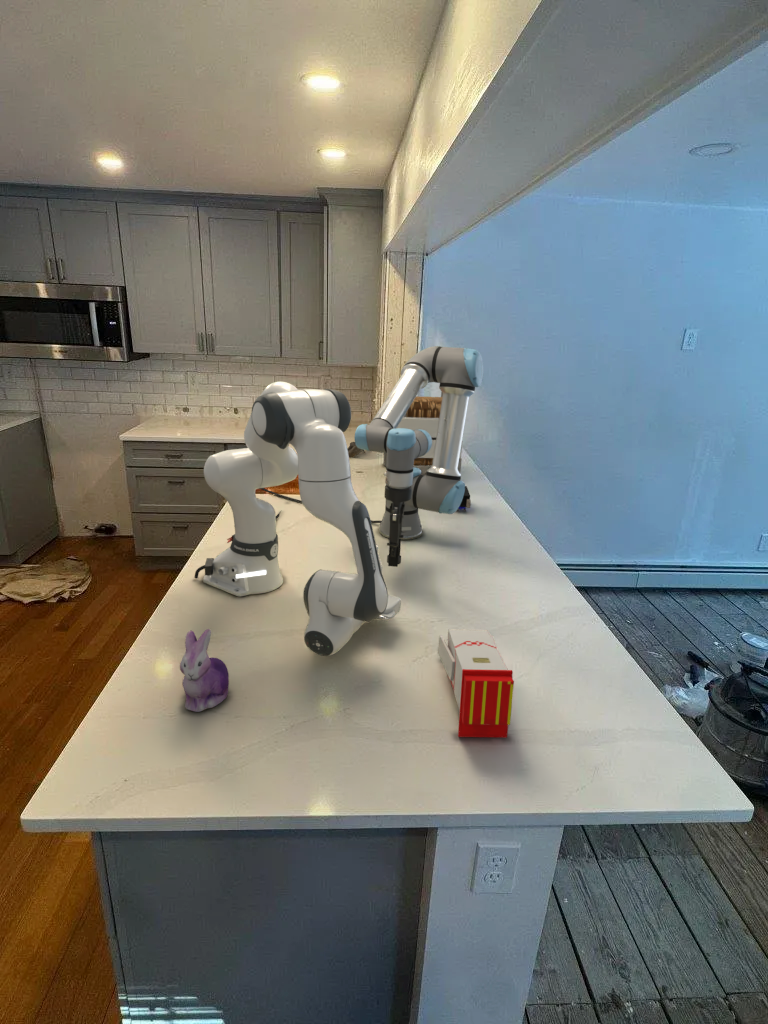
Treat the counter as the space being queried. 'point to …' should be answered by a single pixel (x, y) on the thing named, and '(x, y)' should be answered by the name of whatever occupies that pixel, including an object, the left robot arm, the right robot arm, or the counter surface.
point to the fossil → (354, 449)
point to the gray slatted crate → (424, 425)
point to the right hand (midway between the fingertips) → (393, 562)
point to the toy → (478, 682)
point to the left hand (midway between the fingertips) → (371, 587)
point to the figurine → (202, 674)
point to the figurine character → (465, 500)
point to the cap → (398, 559)
